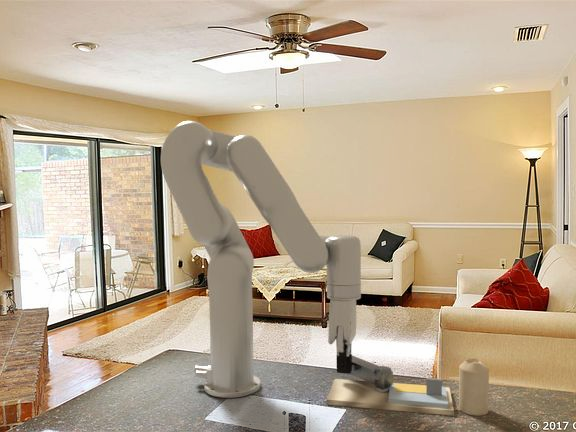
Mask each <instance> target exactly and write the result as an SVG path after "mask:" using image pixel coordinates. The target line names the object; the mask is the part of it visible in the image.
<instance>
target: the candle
mask: <svg viewBox="0 0 576 432" xmlns="http://www.w3.org/2000/svg"><path fill="white" fill-rule="evenodd" d="M458 367H459V368H458V372H459V373H458V408H459V410H460V412H462V413H464V414H466V415H469V416H477V417H479V416H481V417H482V416H486V415H487V414H488V413H489V405H490V404H489V397H490V396H489V395H490V393H489V391H490V389H489V388H490V386H489V384H490V383H489V380H490V379H489V378H490V377H489V376H490V371H489V370H490V369H489V367H488V366H487V365H485V364H484V363H483V362H482V361H481V360H479V359H477V358H476V357H475V358H467V359H466V360H464V361H463V362H462V363H460V365H459V366H458Z"/></svg>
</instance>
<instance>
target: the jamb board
mask: <svg viewBox="0 0 576 432" xmlns="http://www.w3.org/2000/svg"><path fill="white" fill-rule="evenodd" d="M444 387H445V388H446V394H447V400H448V408H443V407H431V406H420V405H408V404H396V403H389V392H388V393H380V392H377V391H376V390H375V385H374V384H372V383H369V382H367V381H365V380H358V379H357V380H354V379H343V378H334V380H333V382H332V384H331V388H330V390H329V392H328V394H327V397H326V398H325V399H326V402H325V403H326V405H331V406H332V405H333V406H340V407H341V406H342V407H353V408H366V409H376V410H387V411H397V412H399V411H400V412H410V413H411V412H412V413H420V414H430V415H431V414H432V415H434V414H435V415H443V416H444V415H445V416H455V410H454V403H453V399H452V393H451V388H450V387H448V386H444Z"/></svg>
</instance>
